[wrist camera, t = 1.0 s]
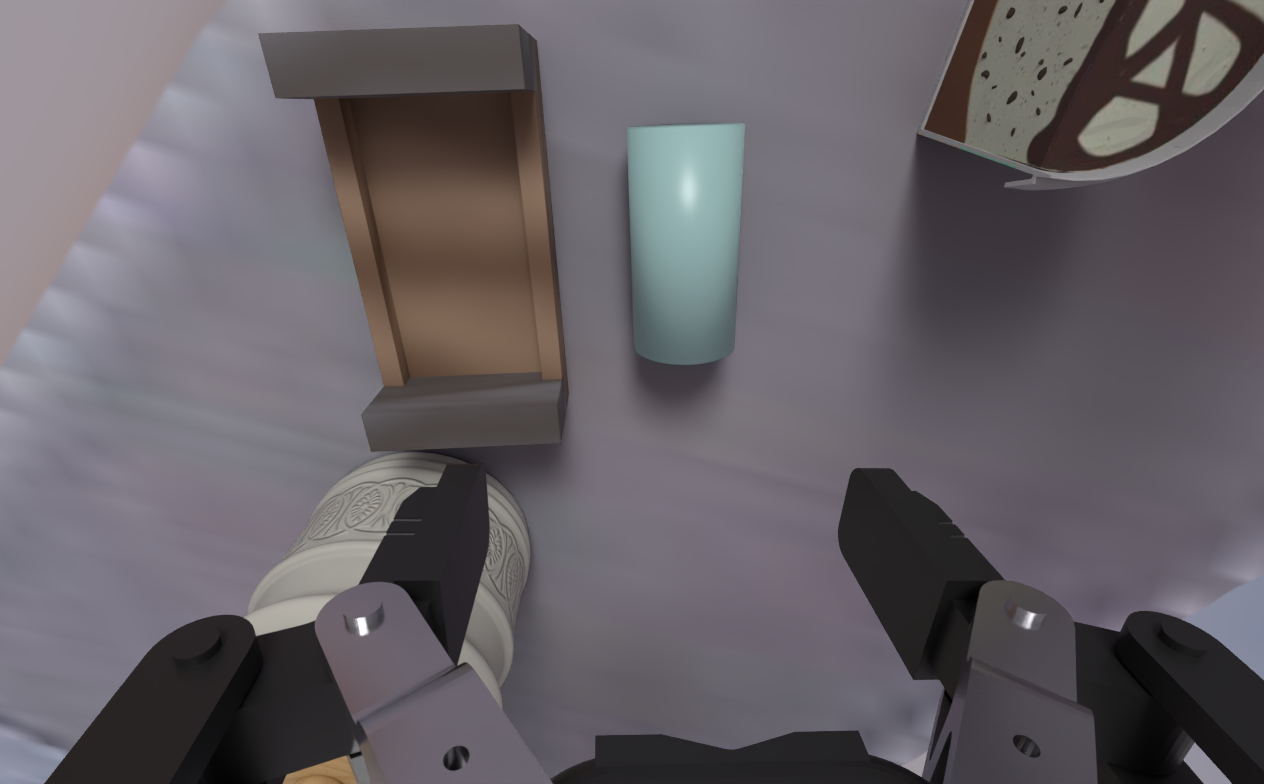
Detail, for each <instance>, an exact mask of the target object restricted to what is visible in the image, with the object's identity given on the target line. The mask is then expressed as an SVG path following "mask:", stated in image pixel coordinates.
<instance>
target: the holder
mask: <svg viewBox="0 0 1264 784" xmlns="http://www.w3.org/2000/svg"><path fill="white" fill-rule="evenodd" d="M258 35H259V39H260V42H261V46H262V50H263V53H264V57H265V61H266V64H267V68H268V72H269V76H270V79H271V83H272V87H273V90H274V94H275V98H289V99H314V102H315V106H316V110H317V114H318V118H319V122H320V127H321V131H322V135H323V139H324V143H325V147H326V151H327V155H328V159H329V163H330V167H331V172H332V176H333V180H334V184H335V188H336V192H337V196H338V200H339V204H340V208H341V212H342V216H343V221H344V225H345V229H346V233H347V237H348V241H349V245H350V249H351V253H352V257H353V261H354V266H355V270H356V274H357V278H358V282H359V286H360V290H361V294H362V298H363V302H364V306H365V310H366V315H367V319H368V323H369V327H370V331H371V335H372V339H373V343H374V347H375V351H376V355H377V360H378V364H379V368H380V372H381V376H382V380H383V384H384V387H383V389H382V390H381V391H380V392H379V393H378V395H377V396H376V397H375V398H374V400H373V401H372V402H371V403H370V404H369V406H368V407H367V408H366V409H365V411H364V412H363V413H362V414H361V416H362V420H363V423H364V427H365V431H366V434H367V438H368V442H369V446H370V449H371V452H376V451H398V450H421V449H443V448H466V447H488V446H511V445H533V444H556V443H561V439H562V432H563V425H564V419H565V412H566V406H567V399H568V393H569V392H568V381H567V370H566V359H565V348H564V337H563V326H562V315H561V304H560V293H559V282H558V271H557V260H556V249H555V238H554V227H553V216H552V204H551V193H550V182H549V171H548V160H547V149H546V138H545V127H544V116H543V105H542V94H541V83H540V72H539V61H538V50H537V40H535V39H534V38H533V37H532V36H531V35H530V34H529V33H527V32H526V31H525V30H524V29H523V28H522V27H521V26H520V25H518V24H513V25H485V26H457V27H429V28H400V29H372V30H344V31H315V32H287V33H259V34H258Z"/></svg>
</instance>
